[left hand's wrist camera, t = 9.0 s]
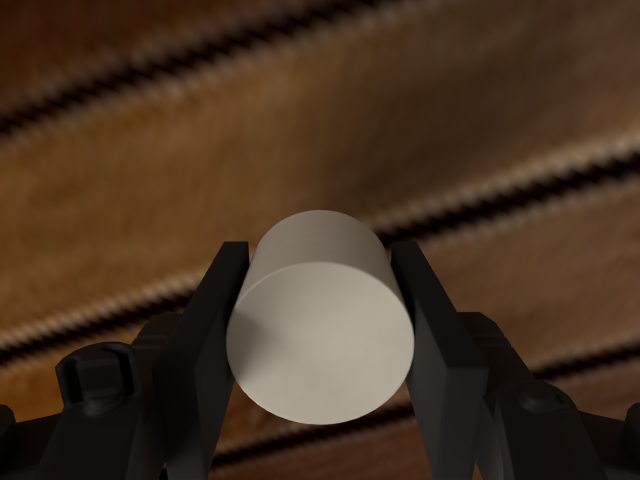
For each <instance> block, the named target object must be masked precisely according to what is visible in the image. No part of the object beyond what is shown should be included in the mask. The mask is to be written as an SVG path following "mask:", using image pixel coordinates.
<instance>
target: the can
mask: <svg viewBox="0 0 640 480" xmlns="http://www.w3.org/2000/svg"><path fill="white" fill-rule="evenodd" d="M414 344H415V335H414V329H413V324H412V321H411V318H410V315H409V312H408V310H407V307H406V304H405V302H404V299H403V296H402V294H401V291H400V288H399V286H398V283H397V280H396V277H395V275H394V272H393V269H392V267H391V264H390V261H389V259H388V256H387V253H386V251H385V249H384V247H383V245H382V243H381V242H380V240H379V239H378V237H377V236H376V235H375V234H374V233H373V232H372V230H371V229H369V228H368V227H367V226H366V225H365V224H363V223H362V222H360V221H358V220H357V219H355V218H353V217H351V216H349V215H346V214H343V213H339V212H335V211H329V210H313V211H306V212H301V213H298V214H295V215H292V216H290V217H288V218H286V219H284V220H282V221H280V222H279V223H278V224H276V225H275V226H274V227H272V228H271V229H270V230H269V231H268V232H267V233H266V234H265V236H264V237H263V238H262V239H261V241H260V243H259V244H258V246H257V248H256V250H255V253H254V255H253V258H252V260H251V263H250V265H249V268H248V271H247V273H246V276H245V279H244V281H243V284H242V287H241V289H240V292H239V294H238V297H237V300H236V302H235V305H234V308H233V310H232V313H231V315H230V318H229V322H228V325H227V330H226V351H227V359H228V363H229V366H230V369H231V371H232V373H233V375H234V377H235V379H236V381H237V382H238V384H239V385H240V387H241V388H242V389H243V390H244V392H245V393H246V394H247V395H248V396H249V397H250V398H251V399H252V400H254V401H255V402H256V403H257V404H258V405H260V406H261V407H263V408H264V409H266V410H267V411H269V412H271V413H273V414H275V415H277V416H280V417H283V418H285V419H288V420H292V421H296V422H301V423H308V424H334V423H339V422H345V421H348V420H352V419H355V418H358V417H360V416H363V415H365V414H367V413H369V412H371V411H373V410H375V409H376V408H378V407H379V406H381V405H382V404H383V403H385V402H386V401H387V400H388V399H389V398H390V397H391V396H392V395H393V394H394V393H395V392H396V391H397V390H398V388H399V387H400V386H401V384H402V383H403V381H404V380H405V378H406V376H407V374H408V372H409V370H410V367H411V364H412V360H413V355H414Z"/></svg>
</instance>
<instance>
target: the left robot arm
mask: <svg viewBox="0 0 640 480" xmlns="http://www.w3.org/2000/svg"><path fill="white" fill-rule="evenodd" d="M391 267H392V269H393V272H394V275H395V277H396V280H397V283H398V286H399V288H400V291H401V294H402V296H403V299H404V302H405V304H406V307H407V310H408V312H409V315H410V318H411V321H412V324H413V329H414V335H415V344H414V355H413V360H412V364H411V367H410V370H409V372H408V374H407V376H406V378H405V380H406V383H407V387H408V390H409V394H410V398H411V401H412V405H413V408H414V412H415V415H416V419H417V422H418V426H419V430H420V433H421V437H422V440H423V444H424V447H425V451H426V454H427V458H428V462H429V465H430V469H431V472H432V476H433V479H434V480H472V477H473V470H474V464H475V460H476V463H477V465H478V468H479V470H480V473H481V475H482V478H483V480H640V403H635V404H634V405H632V406H631V407H630V408H629V409H628V411H627V415H626V418H625V421H621V420H617V419H612V418H607V417H603V416H598V415H593V414H589V413H586V412H582V411H579V410H577V407H576V405H575V404H574V403H573V401H572V400H571V398H570V397H569V396H568V395H567V394H565V393H564V392H563V391H561V390H560V389H559V388H557V387H555V386H553V385H551V384H548V383H546V382H544V381H541V380H536V379H535V378H534V376H533V375H532V373H531V372H530V371H529V369H528V368H527V366H526V365H525V364H524V362H523V361H522V359H521V358H520V357H519V355H518V354H517V352H516V351H515V350H514V348H513V347H511V344H510V343H509V341H508V340H507V338H506V337H504V334H503V333H502V331H501V330H500V328H499V327H498V326H497V324H496V323H495V322H494V321H492V320H491V319H489V318H488V317H486V316H485V315H483V314H482V313H480V312H457V311H456V309H455V308H454V306H453V304H452V303H451V301H450V299H449V297H448V296H447V294H446V292H445V290H444V289H443V287H442V285H441V284H440V282H439V280H438V278H437V277H436V275H435V273H434V272H433V270H432V268H431V266H430V265H429V263H428V261H427V260H426V258H425V256H424V254H423V253H422V251H421V249H420V247H419V246H418V244H417V242H392V255H391ZM248 268H249V248H248V242H224V243H223V245H222V246H221V248H220V250H219V252H218V253H217V255H216V257H215V259H214V260H213V262H212V264H211V265H210V267H209V269H208V271H207V272H206V274H205V276H204V277H203V279H202V281H201V283H200V284H199V286H198V288H197V289H196V291H195V293H194V295H193V296H192V298H191V300H190V301H189V303H188V305H187V307H186V308H185V310H184V312H183V314H159V315H158V316H156V317H155V318H154V319H152V320H151V321H149V322H148V323H146V324H145V325H144V327H143V328H142V329H141V331H140V332H139V334H138V335H137V339H134V341H133V342H132V344H131V345H129V344H126V343H122V342H101V343H96V344H92V345H88V346H85V347H83V348H80V349H78V350H75V351H73V352H72V353H70V354H69V355H67V356H66V357H64V358H63V359H62V360H61V361H60V362H59V363H58V364H57V366H56V367H55V370H56V374H57V379H58V383H59V387H60V391H61V395H62V399H63V403H64V408H63V410H62V413H58V414H55V415H51V416H47V417H42V418H37V419H33V420H28V421H23V422H19V423H16V420H15V417H14V413H13V411H12V410H11V409H10V408H9V407H8V406H6V405H1V404H0V480H158V478H159V476H160V473H161V471H162V469H163V466H164V464H165V462H166V468H167V474H168V480H207V477H208V474H209V470H210V466H211V463H212V459H213V456H214V452H215V449H216V445H217V442H218V438H219V434H220V431H221V427H222V424H223V420H224V417H225V413H226V410H227V406H228V402H229V399H230V395H231V392H232V388H233V385H234V381H235V377H234V375H233V373H232V371H231V369H230V366H229V363H228V359H227V351H226V330H227V325H228V322H229V318H230V315H231V313H232V310H233V308H234V305H235V302H236V300H237V297H238V294H239V292H240V289H241V287H242V284H243V281H244V279H245V276H246V273H247V271H248Z"/></svg>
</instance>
